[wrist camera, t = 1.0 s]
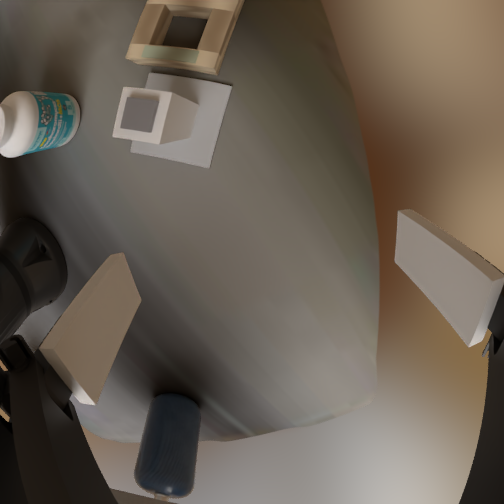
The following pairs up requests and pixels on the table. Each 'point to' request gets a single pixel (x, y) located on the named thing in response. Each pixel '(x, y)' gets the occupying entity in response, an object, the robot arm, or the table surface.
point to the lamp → (166, 451)
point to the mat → (205, 126)
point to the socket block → (200, 60)
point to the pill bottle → (36, 122)
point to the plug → (154, 116)
